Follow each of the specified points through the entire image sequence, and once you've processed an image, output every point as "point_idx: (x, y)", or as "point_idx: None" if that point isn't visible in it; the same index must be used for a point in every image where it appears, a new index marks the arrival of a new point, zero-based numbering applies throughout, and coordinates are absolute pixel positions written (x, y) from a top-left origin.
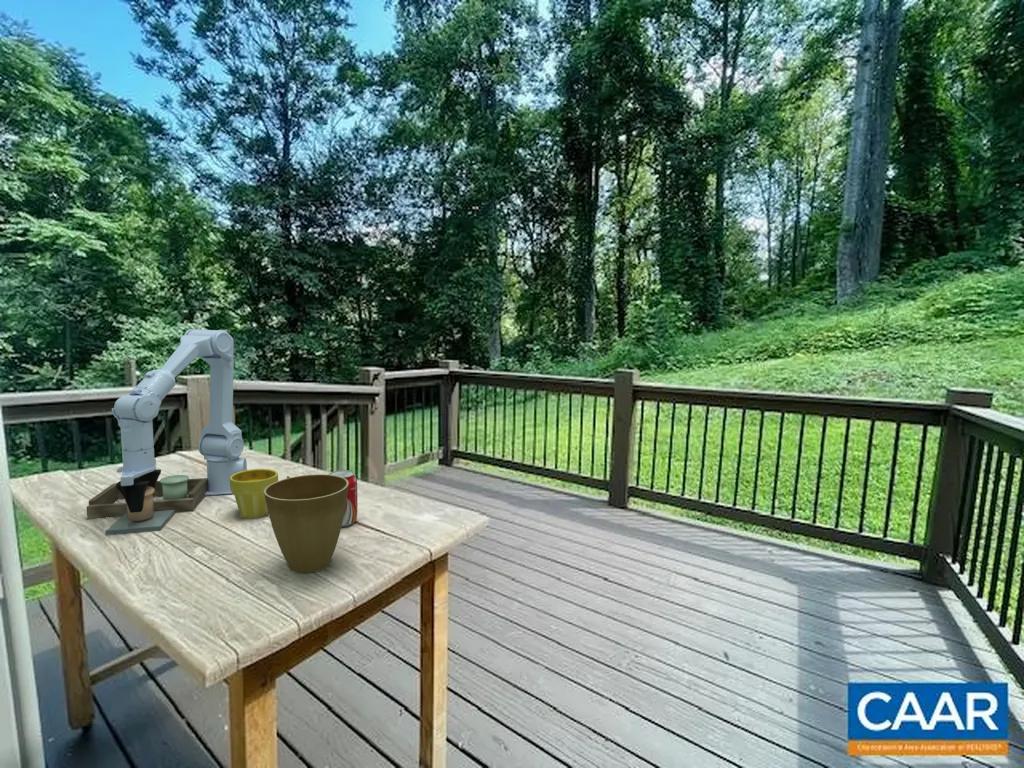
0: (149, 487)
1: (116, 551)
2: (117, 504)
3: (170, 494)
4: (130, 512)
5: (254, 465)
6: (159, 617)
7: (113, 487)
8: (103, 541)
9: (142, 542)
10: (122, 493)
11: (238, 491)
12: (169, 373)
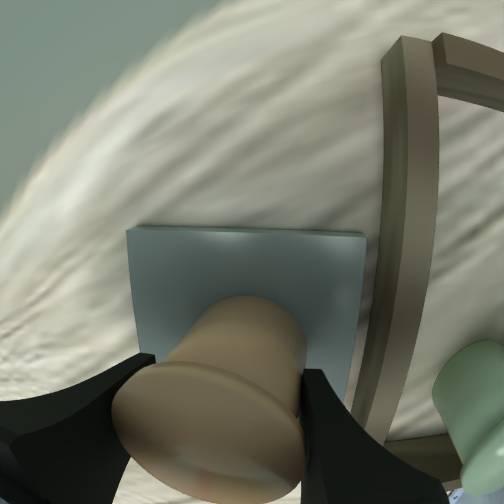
0: (269, 492)
1: (23, 306)
2: (412, 200)
3: (457, 415)
4: (139, 353)
5: None
6: None
7: None
8: (81, 242)
9: (71, 361)
10: (33, 401)
11: None
12: None
